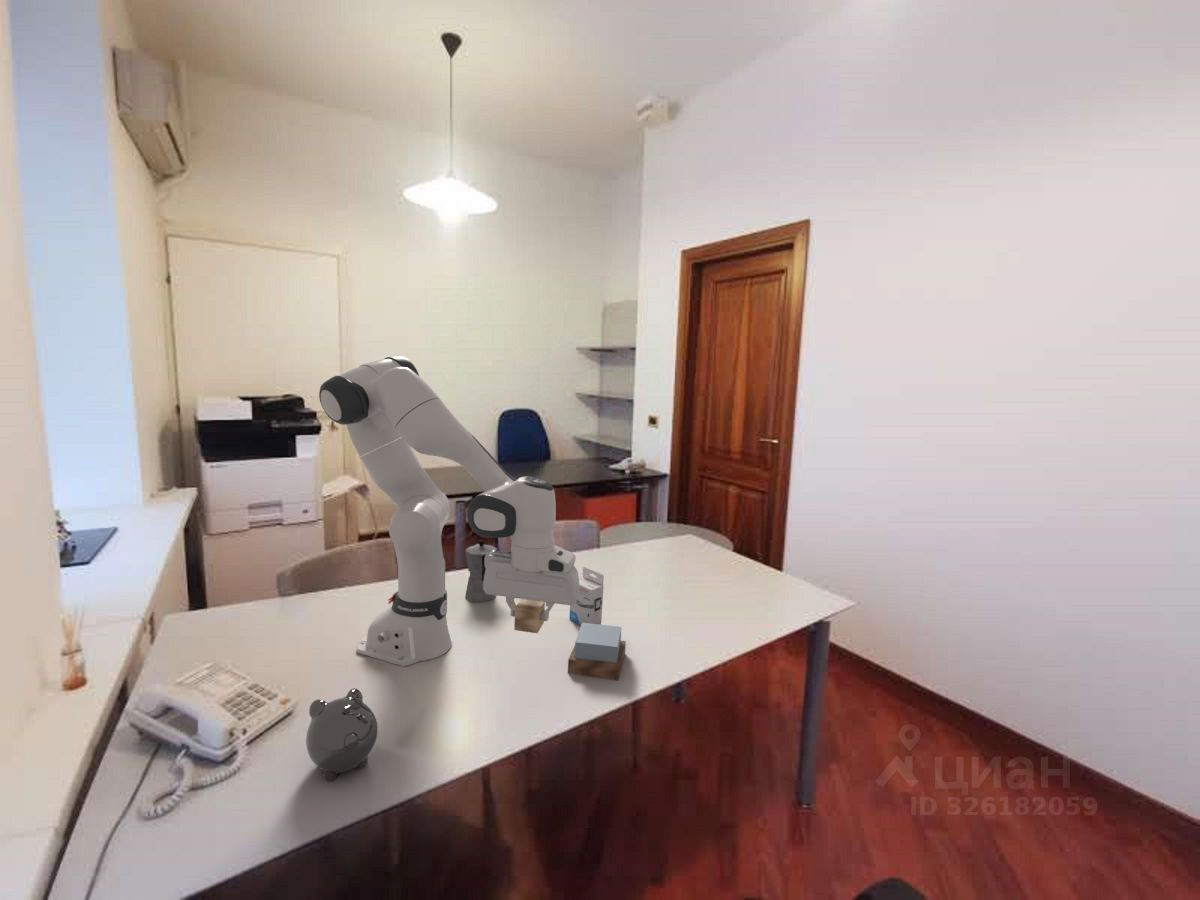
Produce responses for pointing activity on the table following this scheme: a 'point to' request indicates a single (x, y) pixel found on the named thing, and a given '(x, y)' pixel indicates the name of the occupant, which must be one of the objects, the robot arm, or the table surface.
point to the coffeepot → (477, 572)
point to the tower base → (597, 665)
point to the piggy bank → (341, 734)
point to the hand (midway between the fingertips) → (529, 617)
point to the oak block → (528, 615)
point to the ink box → (588, 599)
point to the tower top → (598, 642)
